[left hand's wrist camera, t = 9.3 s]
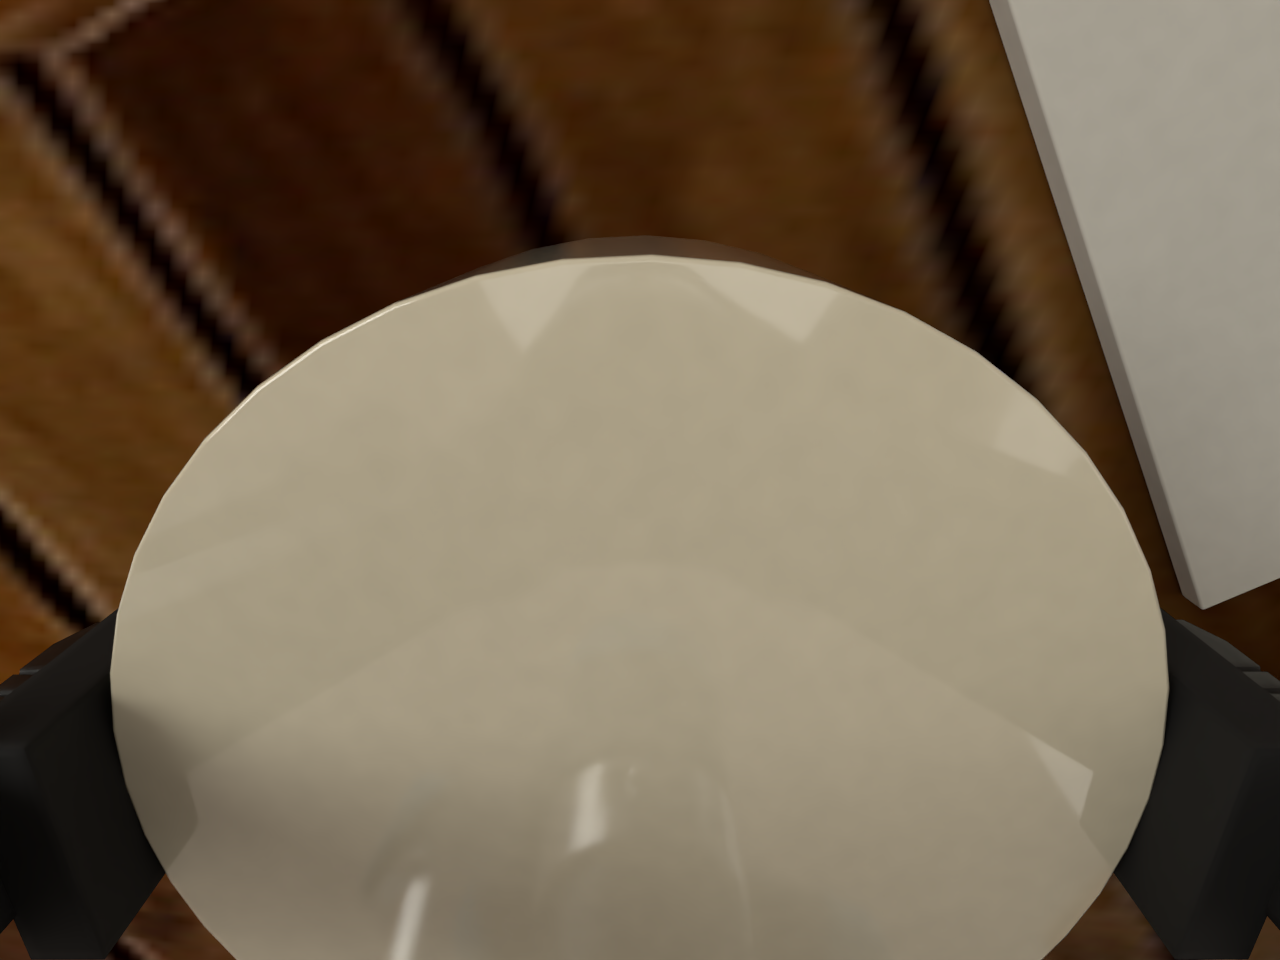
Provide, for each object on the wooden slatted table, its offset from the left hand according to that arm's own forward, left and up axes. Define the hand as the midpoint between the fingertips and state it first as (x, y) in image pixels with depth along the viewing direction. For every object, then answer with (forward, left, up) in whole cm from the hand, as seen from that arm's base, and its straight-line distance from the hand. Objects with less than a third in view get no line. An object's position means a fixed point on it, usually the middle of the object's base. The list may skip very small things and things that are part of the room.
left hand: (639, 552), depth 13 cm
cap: (0, 0, +2) cm, 2 cm away
